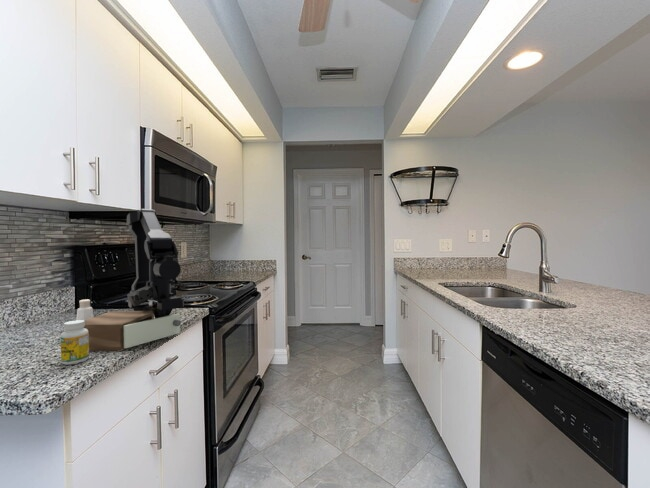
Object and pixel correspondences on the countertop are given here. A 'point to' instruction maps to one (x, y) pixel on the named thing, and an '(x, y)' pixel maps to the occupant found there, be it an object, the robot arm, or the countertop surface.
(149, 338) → the side door
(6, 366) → the countertop surface
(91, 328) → the cabinet
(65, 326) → the supplement bottle
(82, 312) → the salt shaker
